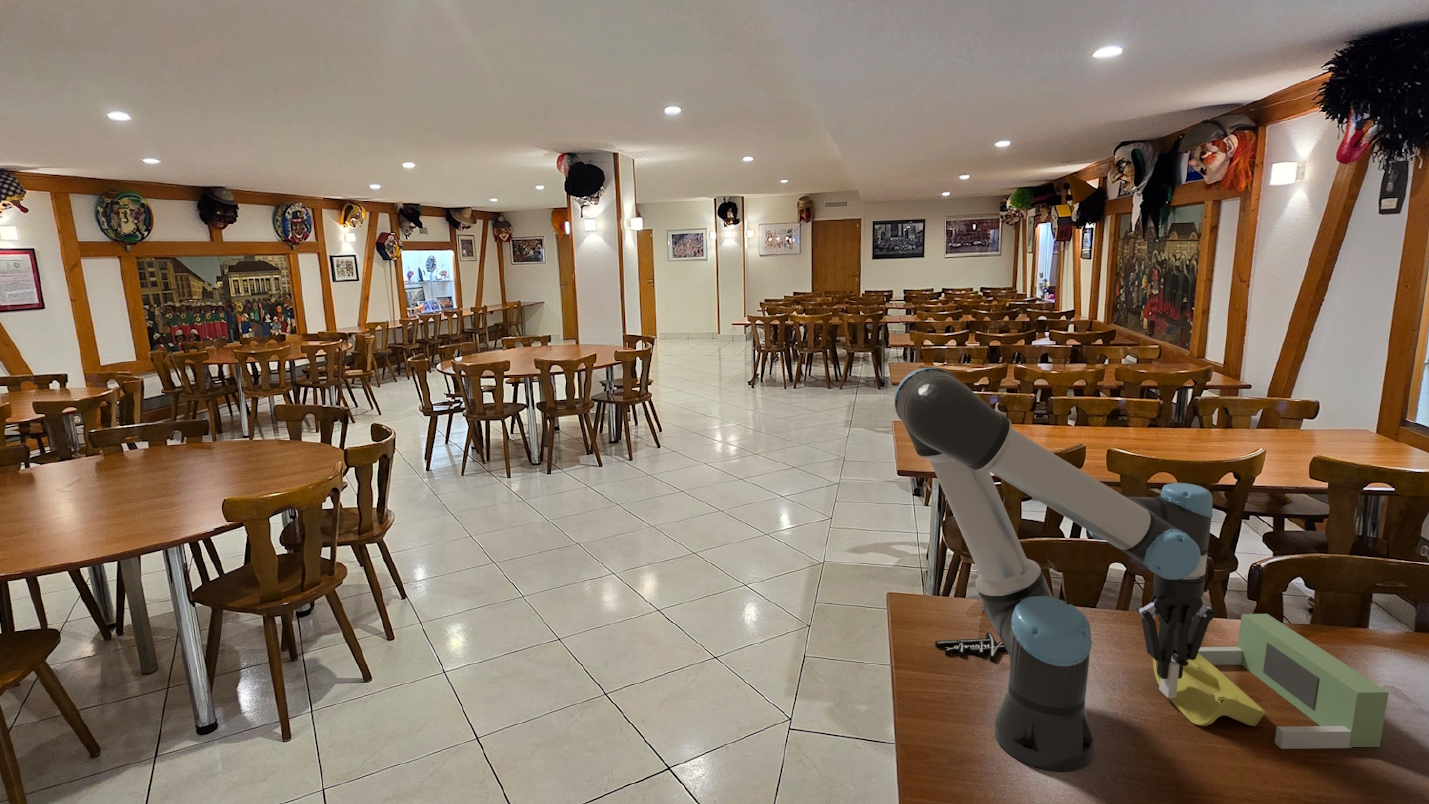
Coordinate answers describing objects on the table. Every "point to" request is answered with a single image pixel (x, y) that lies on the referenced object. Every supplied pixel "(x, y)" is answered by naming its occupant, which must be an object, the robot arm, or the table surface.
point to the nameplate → (973, 647)
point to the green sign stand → (1307, 685)
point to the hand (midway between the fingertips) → (1167, 693)
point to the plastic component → (1211, 695)
